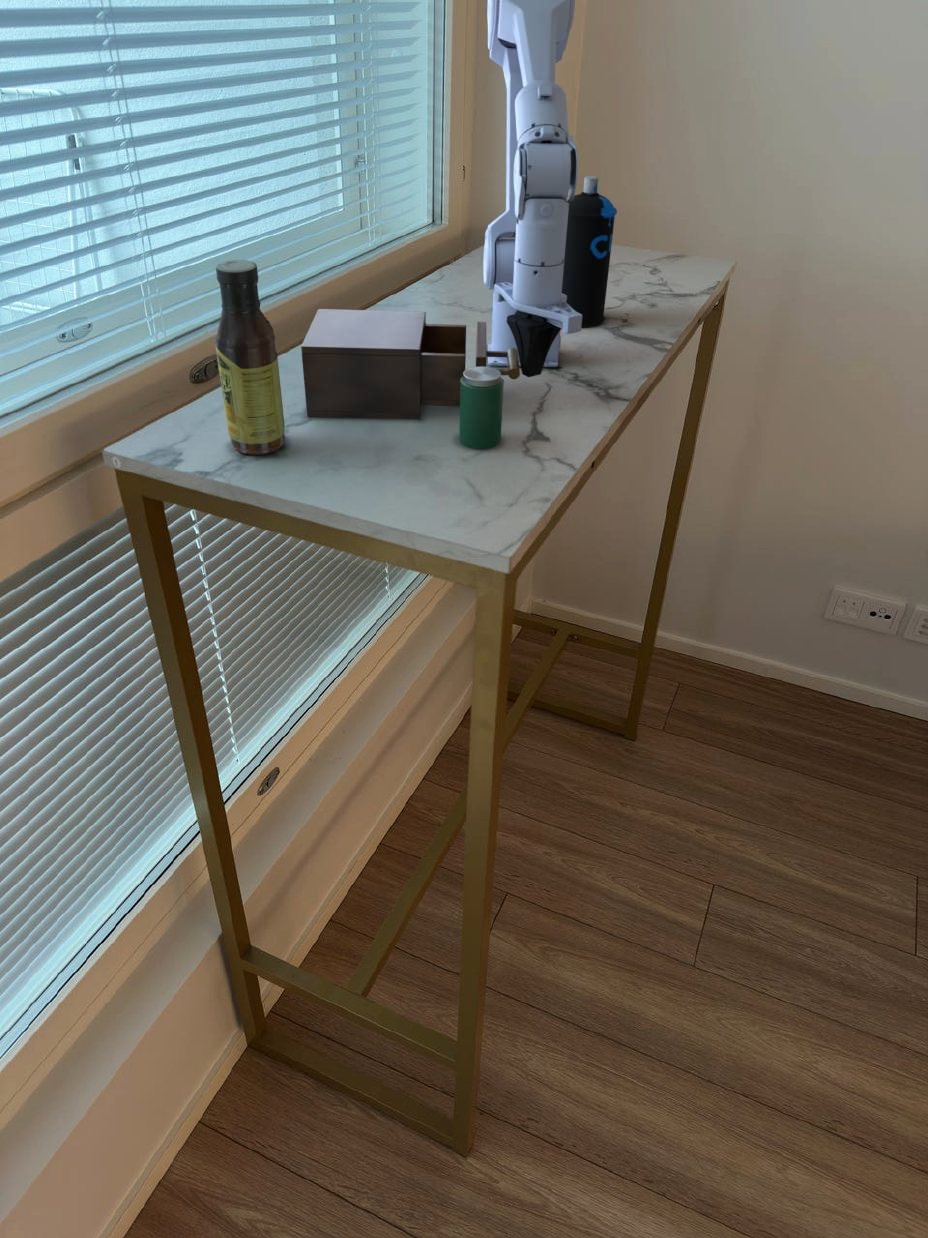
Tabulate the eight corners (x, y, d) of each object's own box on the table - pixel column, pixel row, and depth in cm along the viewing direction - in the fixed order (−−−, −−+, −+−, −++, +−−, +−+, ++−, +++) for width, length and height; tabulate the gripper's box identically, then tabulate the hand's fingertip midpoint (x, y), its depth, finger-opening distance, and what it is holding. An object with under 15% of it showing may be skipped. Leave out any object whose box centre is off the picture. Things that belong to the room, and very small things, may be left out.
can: (494, 429, 107) (496, 363, 102) (506, 447, 103) (509, 379, 98) (454, 433, 106) (455, 367, 101) (465, 451, 102) (467, 383, 97)
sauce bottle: (233, 433, 104) (208, 253, 92) (288, 433, 105) (270, 254, 93) (226, 459, 99) (199, 272, 87) (284, 458, 99) (264, 272, 88)
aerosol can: (544, 323, 138) (555, 179, 126) (560, 307, 144) (571, 169, 132) (596, 330, 135) (612, 185, 123) (610, 314, 142) (627, 174, 130)
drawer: (515, 374, 118) (518, 322, 114) (518, 413, 108) (522, 357, 104) (388, 371, 118) (387, 319, 114) (380, 409, 108) (378, 354, 104)
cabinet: (426, 376, 119) (425, 311, 114) (420, 419, 108) (419, 349, 103) (323, 374, 119) (318, 308, 114) (307, 416, 108) (300, 346, 103)
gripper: (607, 270, 101) (594, 387, 109) (529, 241, 110) (522, 350, 118) (557, 279, 98) (548, 399, 106) (481, 248, 107) (478, 360, 115)
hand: (531, 374), depth 112 cm, fingers closed
